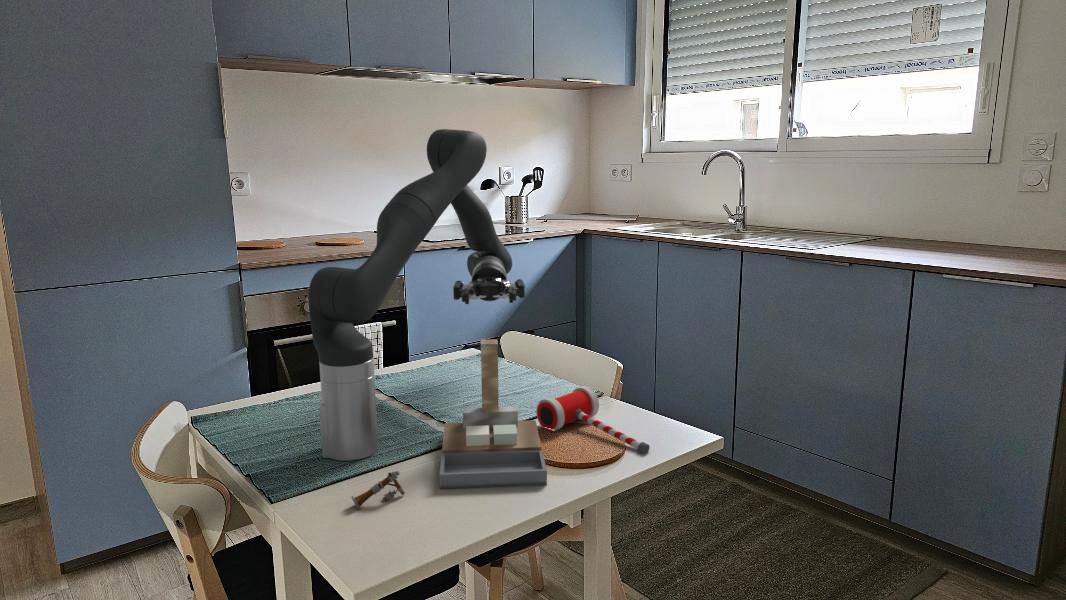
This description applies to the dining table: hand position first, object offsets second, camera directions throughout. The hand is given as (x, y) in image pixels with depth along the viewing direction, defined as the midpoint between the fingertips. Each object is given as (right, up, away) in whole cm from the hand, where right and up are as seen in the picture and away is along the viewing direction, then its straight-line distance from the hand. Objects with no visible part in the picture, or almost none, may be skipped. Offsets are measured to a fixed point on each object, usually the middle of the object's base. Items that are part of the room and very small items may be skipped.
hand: (489, 298), depth 138 cm
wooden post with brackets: (-16, -32, -27) cm, 45 cm away
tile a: (-1, -25, -12) cm, 28 cm away
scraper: (+1, -23, -5) cm, 24 cm away
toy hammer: (+20, -26, 0) cm, 33 cm away
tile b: (+3, -25, -12) cm, 28 cm away
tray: (+2, -30, -19) cm, 35 cm away
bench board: (+1, -27, -9) cm, 29 cm away
